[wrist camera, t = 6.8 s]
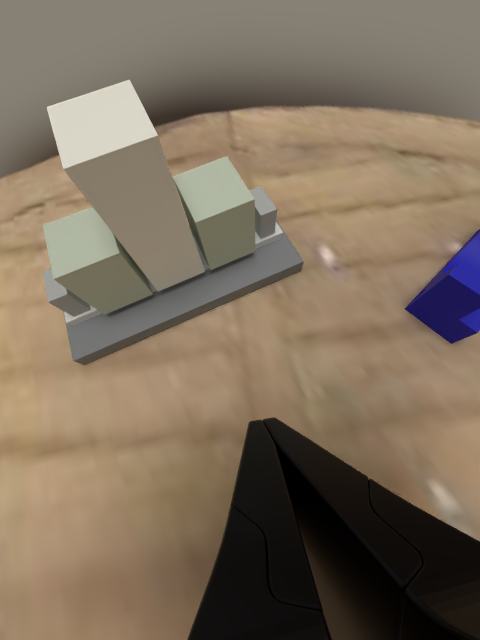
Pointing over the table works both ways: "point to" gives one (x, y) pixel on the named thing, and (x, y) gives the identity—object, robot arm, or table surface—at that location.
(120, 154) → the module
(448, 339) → the blue cradle stand
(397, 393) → the table surface
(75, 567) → the table surface
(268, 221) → the rail board
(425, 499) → the table surface
